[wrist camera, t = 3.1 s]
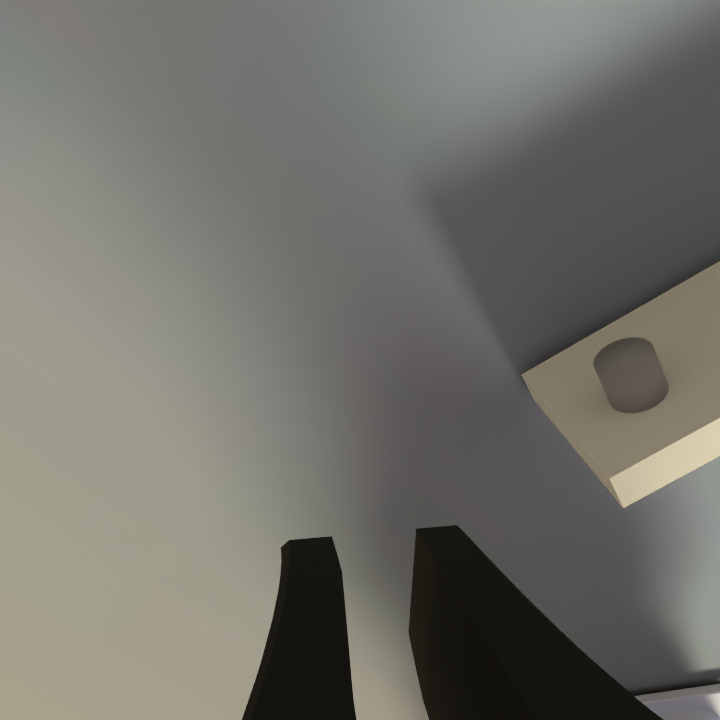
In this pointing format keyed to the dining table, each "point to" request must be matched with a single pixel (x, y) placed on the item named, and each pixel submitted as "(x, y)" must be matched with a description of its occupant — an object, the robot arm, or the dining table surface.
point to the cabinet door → (642, 390)
